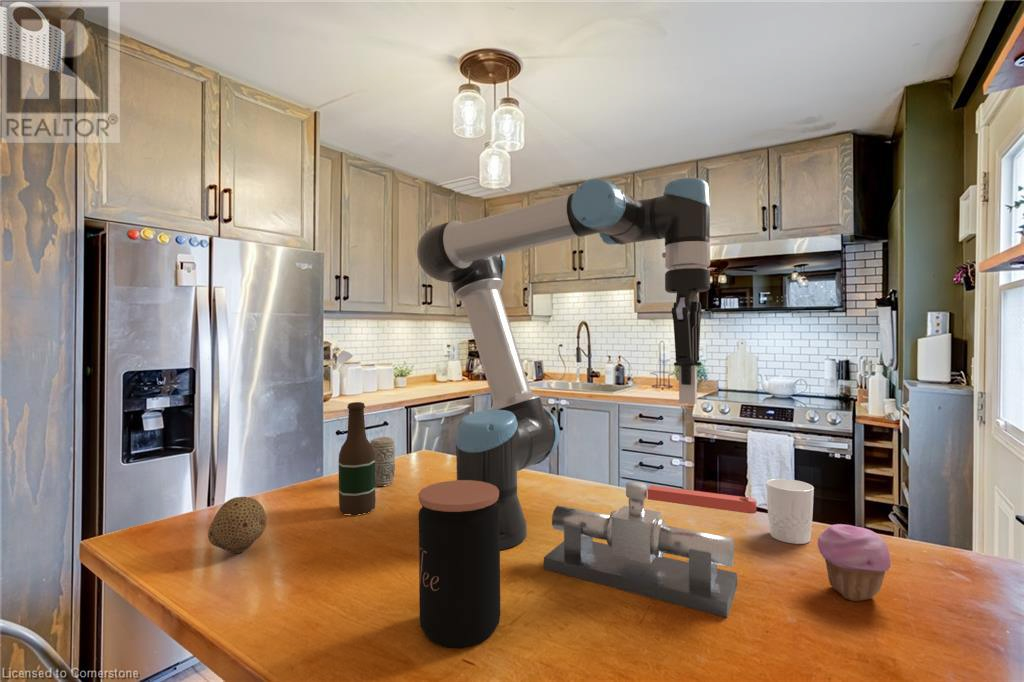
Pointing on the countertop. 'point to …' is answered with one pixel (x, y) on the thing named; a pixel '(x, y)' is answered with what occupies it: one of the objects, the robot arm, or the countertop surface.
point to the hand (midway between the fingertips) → (688, 402)
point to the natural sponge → (237, 524)
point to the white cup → (790, 510)
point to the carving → (384, 460)
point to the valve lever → (691, 497)
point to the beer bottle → (356, 466)
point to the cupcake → (854, 560)
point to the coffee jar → (459, 562)
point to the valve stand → (645, 556)
